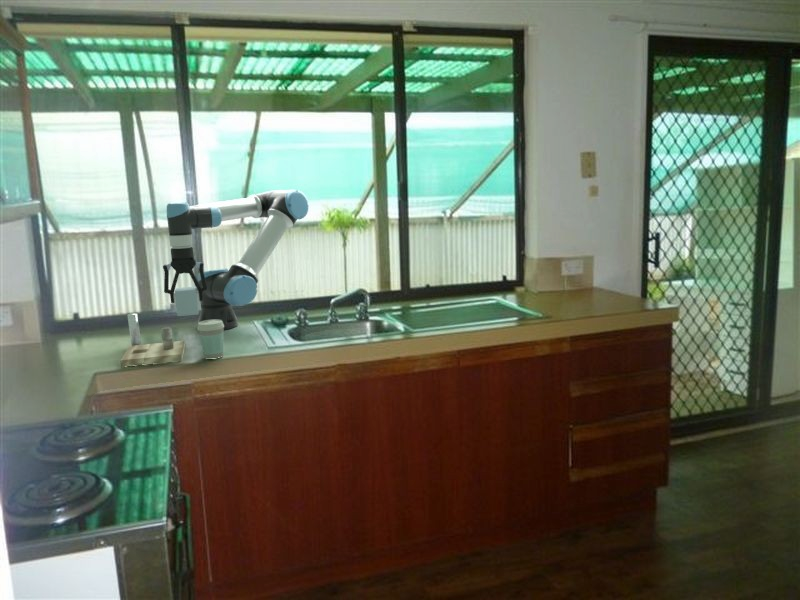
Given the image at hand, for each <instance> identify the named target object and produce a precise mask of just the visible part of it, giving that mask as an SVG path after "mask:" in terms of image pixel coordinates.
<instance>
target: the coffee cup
mask: <svg viewBox="0 0 800 600" xmlns="http://www.w3.org/2000/svg"><path fill="white" fill-rule="evenodd" d="M196 328H197V329H196V330H197V331H198V334H199V339H200V344H201V348H202V351H203V352H202V353H203V356H204V359H205V358H218V357H221V356H224V324H223V322H222V320H216V319H214V320H205V321H201V322H199V323H198V322H197V327H196Z"/></svg>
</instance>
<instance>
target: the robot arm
mask: <svg viewBox="0 0 800 600" xmlns="http://www.w3.org/2000/svg"><path fill="white" fill-rule="evenodd" d="M308 202H309V201H308V198H307V196H306V195H305V193H303V192H302V191H300V190H297V189H291V188H290V189H285V190H284V189H275V190H270V191H269V190H268V191H265V192H261V193H257V194H251V195H249V196H248V197H245V198H237V199H232V200H225V201H217V202H210V203H202V204H196V205H190V204H189V203H188V202H170V203H167V204H166V219H167V226H168V227H167V228H168V238H169V246H170V247H171V248H170V257H171V258H170V259H171V260H170V263H167V264H164V265H163V266H162V269H163V271H164V282H163V284H164V285H163V286H164V287H163V288H164V289H163V290H164V291H163V293H165V294H169V297H170V303H171V304H174V313H176V314H177V308H176V298H175V290H176V288H177V283H178V280H179V276H180V275H182V274H189V276H190V278H191V280H192V282H193V283H194V287H197V304H198V311H199V317H198V322H197V324H198V323H199V322H201V321H205V320H214V319H216V320H222V322H223V324H224V330H230V329H233V328H235V327H237V326H238V325H239V324H238V318H237V316H236V314H235V313H236V312H235V311H234V309H233V308H232V307H233V306H234V307H238V306H242V307H243V306H246V305H248V304H251V303H252V302H253V300H255V298H256V296H257V294H258V289H257V288H258V285H257V284H258V282H259V277H258V275H259V274H260V272H261V271H262V269H263V267H264V266H265V264H266V262H267V261H268V259H269V258H270V257H271V254H272V253H273V252H274V249H276V247H277V245H278V243H279V241H281V239H282V237H283V235H284V234H285V232H286V231H287V229H291V228H293V227H294V225H295V224H296V222H297V220H301V219H305V217H306V216H307V214H308V212H309V203H308ZM250 217H252V218H254V219H260V218H266V220H265V221H264V223H263V225H262V226H261V227H260V229H259V231H258V232H257V234H256V236H255V237H254V239H253V240H252V242H251V243H250V245H249V246H248V248H247V249H246V251H245V252H244V254H243V255H242V257H241V259H240V260H239V261H238V263H235V264H232V265H231V267H230V268H229V269H228V268H219V269H217V268H216V269H211V270H205V271H204V265H205V264H204V262H203V261H201V262H199V261H196V259H195V256H194V255H195V254H194V253H195V252H194V247H193V245H194V244H193V233H192V230H195V229H207V228H208V229H210V228H211V229H213V228H218V227H219V226H220V225H221V224H222V222H225V221H232V220H236V219H237V220H239V219H244V218H250ZM195 266H196V267H197V269H198V270H199V273H198V275H197V277H196V274H195V272H194V267H195ZM171 268H172V269H173V270H174V271H175V273H174V277H173V280H172V283H171V287H170V289H169V282H170V270H171ZM224 330H223V331H224Z"/></svg>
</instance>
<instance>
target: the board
mask: <svg viewBox="0 0 800 600" xmlns="http://www.w3.org/2000/svg"><path fill="white" fill-rule="evenodd" d="M160 330H161V331H160V332H161V339H162V342H155V343H154V342H153V343H147V344H141V345H134V346H131V345H129V346H128V347H127V348H126V350H125V352H124V353H123V356H122V357H121V359H120V365H121V368H122V367H125V366H133V365H142V364H153V363H163V364H168V363H167V362H172V363H178V362H177V361H181V362H182V361H183V359H184V358H183V357H184V353H185V350H186V349H185V348H186V344H185V343H186V342H185V340H178V341H176V340H175V341H174V340H173V330H172V327H171V326H166V327H161V329H160ZM153 365H154V364H153ZM125 368H126V367H125Z"/></svg>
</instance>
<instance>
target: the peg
mask: <svg viewBox="0 0 800 600" xmlns="http://www.w3.org/2000/svg"><path fill="white" fill-rule="evenodd" d="M127 321H128V329H129V338H130V346H134V345H142V342H141V333H140V332H141V331H140V323H139V317H138V313H137V312H135V313H134V312H131V313H127Z"/></svg>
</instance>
